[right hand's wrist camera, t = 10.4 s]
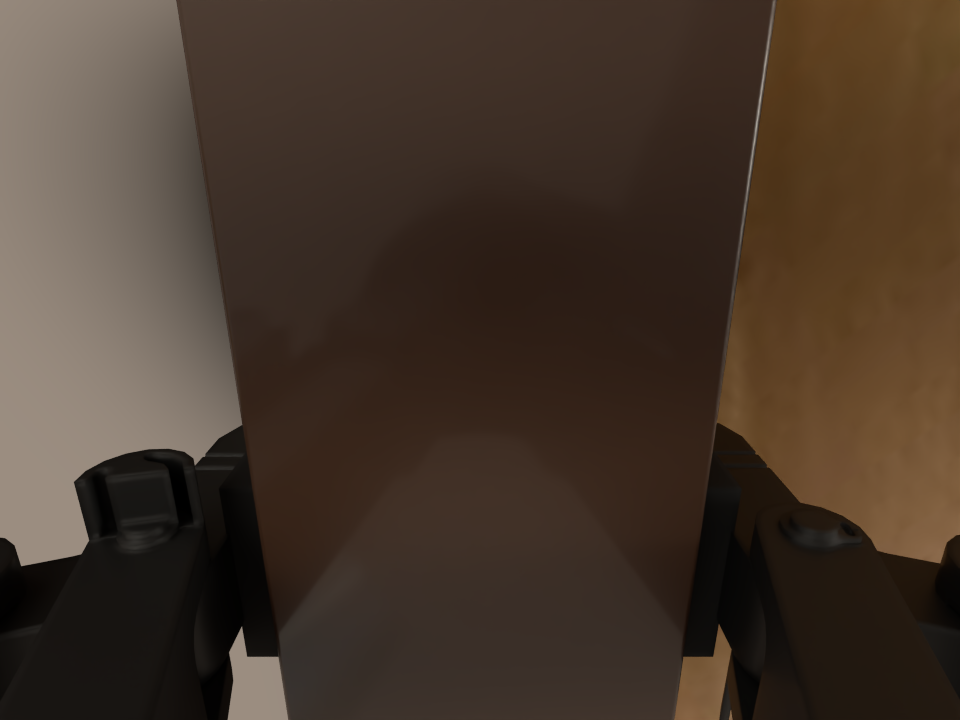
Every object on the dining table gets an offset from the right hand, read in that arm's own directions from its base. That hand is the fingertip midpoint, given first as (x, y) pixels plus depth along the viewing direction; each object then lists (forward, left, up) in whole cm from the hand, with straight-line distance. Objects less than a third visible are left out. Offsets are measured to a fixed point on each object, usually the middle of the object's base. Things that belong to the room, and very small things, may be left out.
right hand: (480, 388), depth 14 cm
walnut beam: (-10, 0, -1) cm, 10 cm away
